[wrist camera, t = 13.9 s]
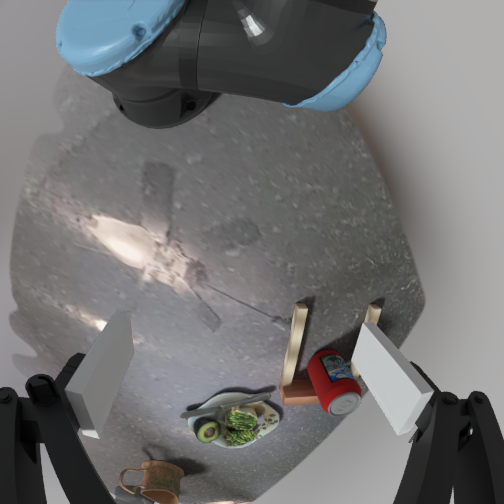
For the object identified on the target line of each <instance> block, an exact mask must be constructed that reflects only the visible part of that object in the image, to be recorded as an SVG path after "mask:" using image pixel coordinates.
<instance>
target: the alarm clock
mask: <svg viewBox="0 0 504 504" xmlns="http://www.w3.org/2000/svg"><path fill="white" fill-rule="evenodd" d="M125 487H126V488H128V489H129V490H131V491H132V490H133V488H134V487H135V486H125ZM141 489H142V488H141V487H137V489H136V492H135V494H132V493H130V492H128V491H126V490H124V489H123V488H122V487H121V486H117V487H116V488H115V496H116V498H115V499H114V500H115V502H116V503H117V504H154V502H155V501H153V500H151V499H149V498H148V497H146V496H144V495H142V494H141Z"/></svg>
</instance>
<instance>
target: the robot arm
mask: <svg viewBox="0 0 504 504" xmlns="http://www.w3.org/2000/svg"><path fill="white" fill-rule="evenodd" d="M377 1H378V0H69V1H68V3H67V4H66V6H65V8H64V9H63V11H62V13H61V16H60V18H59V21H58V24H57V28H56V46H57V49H58V52H59V53H60V55H61V56H62V58H63V59H64V60H65V61H66V62H67V63H68V64H69V65H71V66H72V68H73V69H74V70H75V71H76V72H78V73H79V74H82V75H83V76H87V77H89V78H90V79H92V80H93V81H95V82H97V83H98V84H100V85H101V86H103V87H104V88H106V89H108V90H109V91H111V92H112V95H113V99H114V102H115V104H116V106H117V108H118V109H119V110H120V112H121V113H122V114H123V115H124V116H125V117H127V118H128V119H129V120H131V121H133V122H135V123H136V124H139V125H141V126H144V127H147V128H154V129H163V128H170V127H174V126H178V125H180V124H183V123H185V122H187V121H189V120H190V119H192V118H194V117H195V116H196V115H198V114H199V113H200V112H201V111H202V110H203V109H204V108H205V107H206V106H207V105H208V103H209V102H210V100H211V99H212V97H213V95H214V93H215V92H219V93H227V94H234V95H241V96H247V97H254V98H259V99H265V100H270V101H275V102H280V103H282V104H283V105H285V106H287V107H303V108H308V109H313V110H318V111H332V110H337V109H340V108H342V107H344V106H346V105H347V104H349V103H350V102H352V101H353V100H354V99H355V98H356V97H357V96H358V95H359V94H360V93H361V92H362V91H363V90H364V89H365V87H366V86H367V85H368V83H369V82H370V80H371V79H372V77H373V76H374V74H375V72H376V70H377V68H378V66H379V64H380V61H381V59H382V56H383V54H382V52H381V51H380V50H381V49H382V47H383V46H384V45H385V44H386V28H385V24H384V22H383V20H382V19H381V17H379V16H378V15H377V13H376V12H375V11H373V10H374V7H375V5H376V3H377ZM133 355H134V347H133V339H132V330H131V320H130V312H129V311H121V310H116V312H115V313H114V315H113V316H112V317H111V319H110V320H109V322H108V323H107V325H106V326H105V328H104V329H103V330H102V332H101V333H100V335H99V336H98V338H97V339H96V341H95V342H94V344H93V345H92V347H91V348H90V350H89V351H88V353H87V354H82V353H77V354H75V355H74V356H72V357H71V358H70V359H69V360H68V362H67V363H66V366H64V368H63V369H62V371H61V372H60V373H59V375H58V376H57V378H56V379H55V381H54V380H53V378H52V377H50V376H49V375H45V374H37V375H34V376H32V377H31V378H29V379H28V381H27V382H26V386H25V388H26V391H27V393H28V395H29V397H30V398H24V397H18V395H17V393H16V392H15V390H14V389H12V388H10V387H2V388H0V504H47V501H46V495H45V489H44V482H43V475H42V466H41V455H40V443H44V444H45V446H46V449H47V452H48V455H49V458H50V460H51V463H52V465H53V467H54V470H55V472H56V475H57V477H58V479H59V481H60V484H61V486H62V488H63V490H64V492H65V494H66V496H67V498H68V500H69V502H70V504H117V503H116V502H115V500H114V499H113V497H112V496H111V494H110V493H109V491H108V489H107V488H106V486H105V485H104V483H103V481H102V480H101V478H100V476H99V475H98V473H97V471H96V469H95V468H94V466H93V464H92V462H91V460H90V458H89V456H88V455H87V453H86V451H85V449H84V447H83V445H82V443H81V441H80V439H79V436H78V434H77V432H78V430H79V428H81V430H82V432H83V434H84V435H87V436H90V437H94V438H98V439H100V436H101V434H102V431H103V428H104V426H105V423H106V420H107V418H108V415H109V412H110V410H111V407H112V405H113V402H114V400H115V397H116V395H117V392H118V390H119V387H120V385H121V383H122V380H123V378H124V375H125V373H126V371H127V368H128V366H129V364H130V361H131V359H132V357H133ZM351 361H352V362H353V364H354V366H355V367H356V369H357V370H358V372H359V374H360V375H361V377H362V378H363V380H364V382H365V383H366V385H367V386H368V388H369V390H370V391H371V393H372V394H373V396H374V398H375V399H376V401H377V402H378V404H379V406H380V407H381V409H382V410H383V412H384V414H385V415H386V417H387V419H388V420H389V422H390V423H391V425H392V427H393V429H394V430H395V432H396V434H397V435H400V434H404V433H407V432H410V430H411V429H412V427H413V426H414V424H416V425H417V427H418V429H417V430H416V432H415V433H414V435H413V436H412V438H411V439H410V441H409V443H411V441H412V440H413V443H412V447H411V451H410V454H409V458H408V461H407V465H406V468H405V471H404V475H403V477H402V480H401V483H400V486H399V489H398V492H397V495H396V497H395V500H394V503H393V504H449V503H450V498H451V494H452V488H454V489H453V490H454V504H504V439H503V436H502V433H501V430H500V427H499V425H498V422H497V419H496V416H495V414H494V411H493V408H492V406H491V403H490V401H489V399H488V397H487V396H486V395H485V394H484V393H482V392H479V391H473V392H471V394H470V395H469V397H468V399H458V398H457V396H456V395H454V394H452V393H450V392H441V391H440V390H439V389H438V387H437V386H436V385H435V384H434V383H433V382H432V381H431V379H430V378H428V376H427V375H426V374H425V373H424V372H423V371H422V369H421V368H420V367H419V366H418V365H416V364H414V363H413V362H409V361H408V360H407V359H406V358H405V357H404V356H403V354H402V353H401V352H400V351H399V350H398V349H397V348H396V347H395V345H394V344H393V343H392V342H391V341H390V340H389V339H388V338H387V337H386V335H385V334H384V333H383V332H382V331H381V330H380V329H379V328H378V327H377V326H376V324H375V323H374V322H368V323H363V324H362V327H361V330H360V334H359V337H358V340H357V344H356V347H355V350H354V353H353V356H352V359H351ZM471 429H473V432H472V434H470V430H471Z"/></svg>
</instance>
